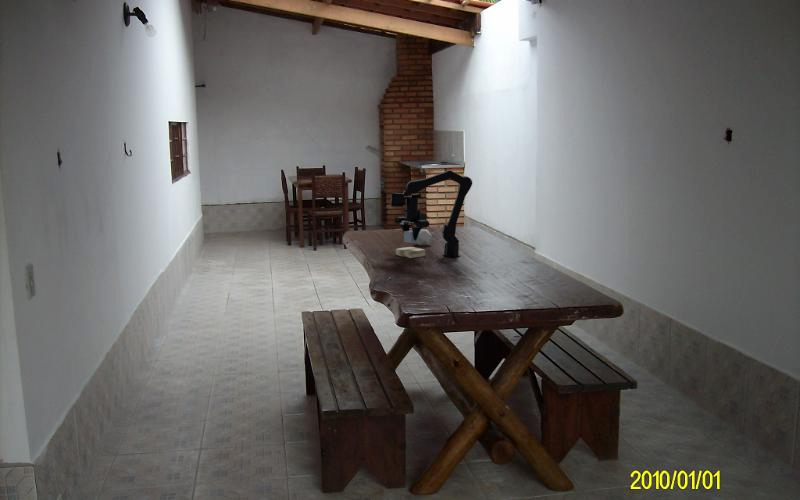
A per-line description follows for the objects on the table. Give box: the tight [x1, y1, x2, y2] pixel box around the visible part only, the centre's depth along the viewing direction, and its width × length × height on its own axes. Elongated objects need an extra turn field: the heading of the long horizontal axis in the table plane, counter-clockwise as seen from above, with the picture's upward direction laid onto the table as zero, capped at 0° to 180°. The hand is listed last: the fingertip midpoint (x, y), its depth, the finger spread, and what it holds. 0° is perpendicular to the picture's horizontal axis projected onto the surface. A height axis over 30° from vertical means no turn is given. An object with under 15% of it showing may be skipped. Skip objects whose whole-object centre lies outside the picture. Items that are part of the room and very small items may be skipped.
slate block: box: [403, 229, 419, 244], centre depth 350 cm, size 5×5×5 cm
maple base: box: [395, 246, 426, 259], centre depth 352 cm, size 10×10×3 cm
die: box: [416, 228, 433, 246], centre depth 383 cm, size 8×9×10 cm
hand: (411, 239), depth 350 cm, fingers closed on slate block, 5 cm apart
